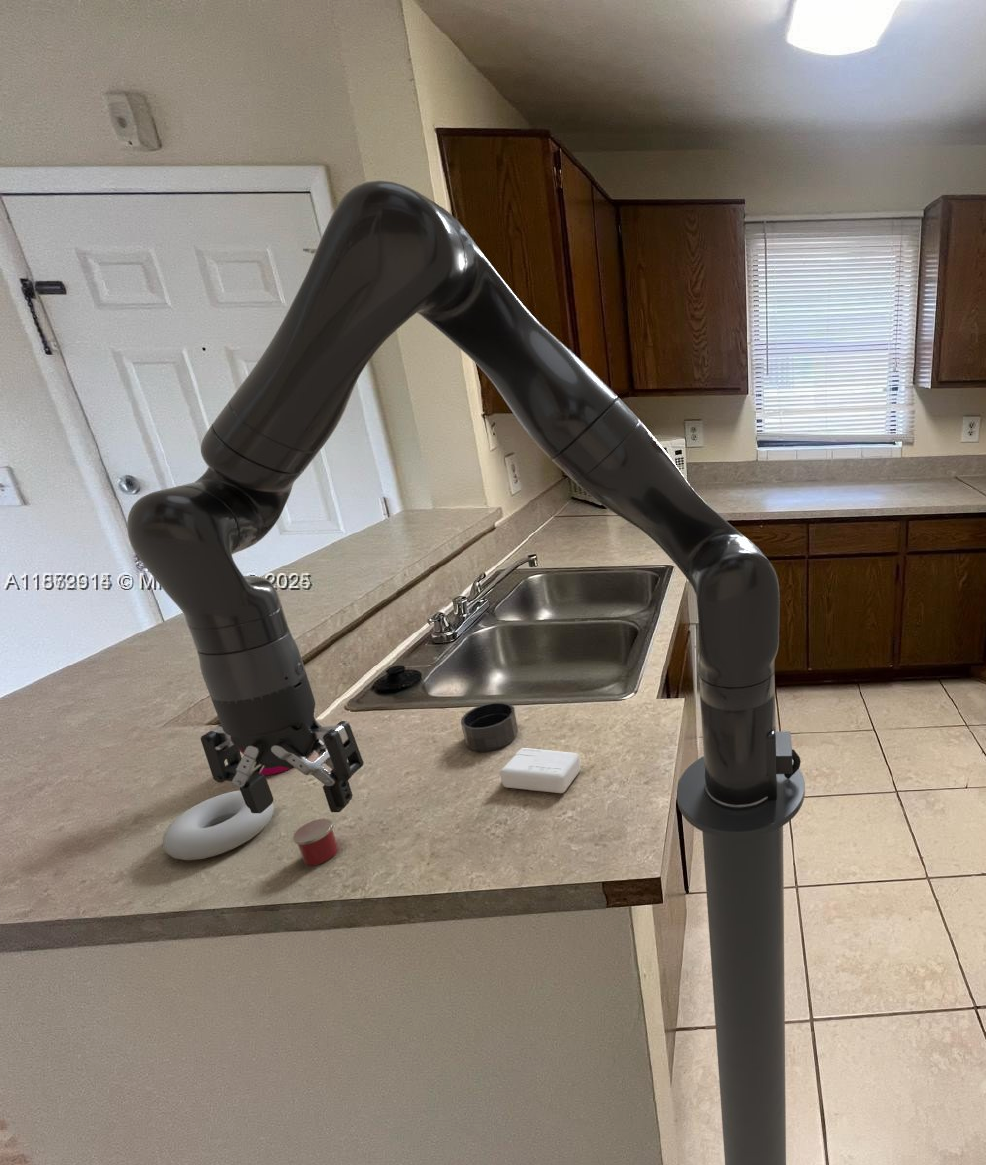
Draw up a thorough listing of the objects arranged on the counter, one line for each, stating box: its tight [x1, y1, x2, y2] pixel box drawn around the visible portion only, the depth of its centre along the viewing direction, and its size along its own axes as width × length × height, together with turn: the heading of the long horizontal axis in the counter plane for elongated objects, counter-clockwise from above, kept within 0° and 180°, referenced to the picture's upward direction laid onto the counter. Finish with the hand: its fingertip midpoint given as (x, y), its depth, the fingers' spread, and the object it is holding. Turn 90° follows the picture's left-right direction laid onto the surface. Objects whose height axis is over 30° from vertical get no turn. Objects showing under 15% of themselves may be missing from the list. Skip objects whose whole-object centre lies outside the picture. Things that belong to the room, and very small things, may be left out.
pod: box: [292, 818, 339, 866], centre depth 67 cm, size 4×4×4 cm
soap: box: [499, 747, 582, 794], centre depth 80 cm, size 9×6×3 cm, turn 81°
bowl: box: [460, 701, 519, 753], centre depth 89 cm, size 7×7×4 cm
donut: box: [162, 789, 275, 861], centre depth 71 cm, size 10×4×10 cm
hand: (302, 807), depth 66 cm, fingers open, 8 cm apart
